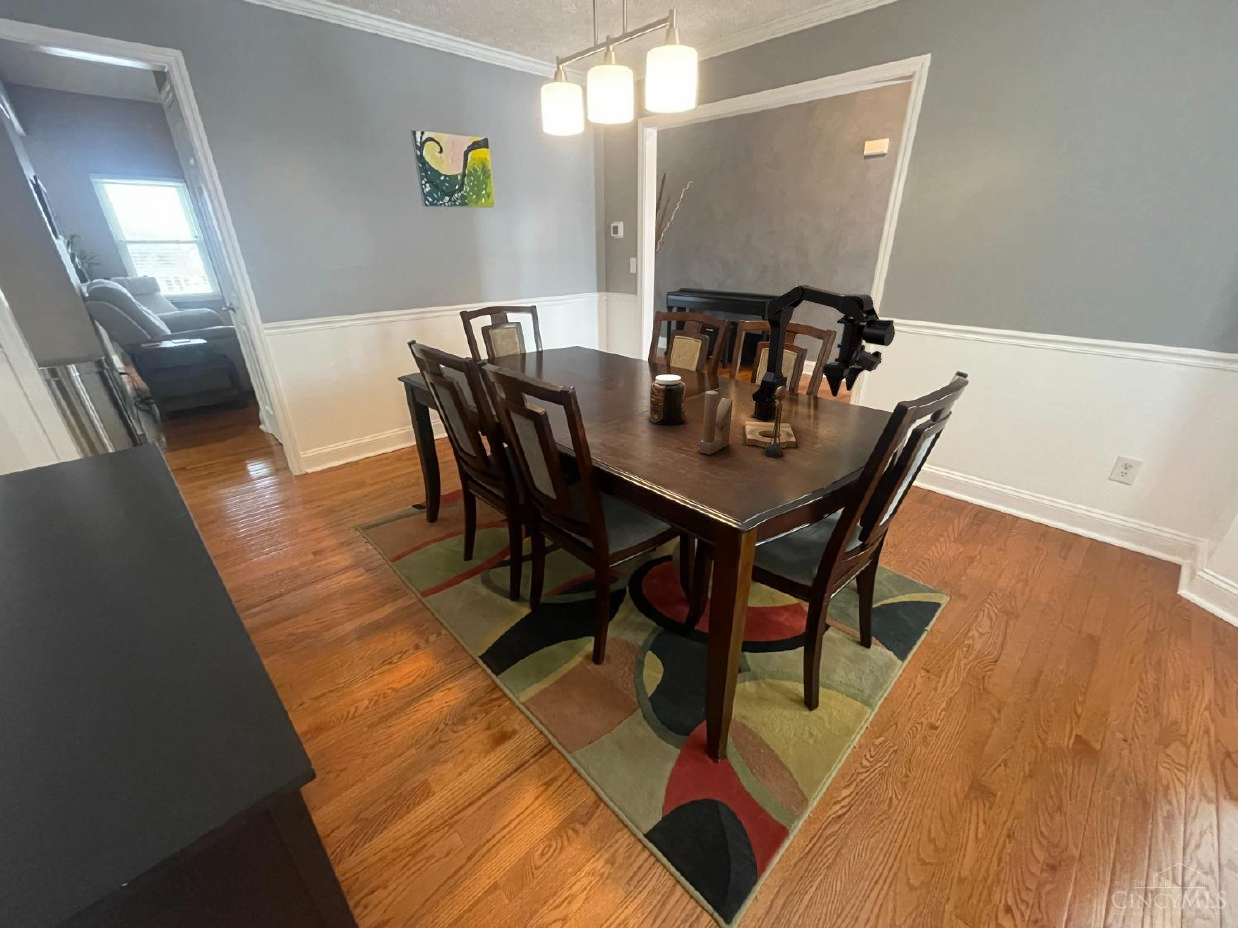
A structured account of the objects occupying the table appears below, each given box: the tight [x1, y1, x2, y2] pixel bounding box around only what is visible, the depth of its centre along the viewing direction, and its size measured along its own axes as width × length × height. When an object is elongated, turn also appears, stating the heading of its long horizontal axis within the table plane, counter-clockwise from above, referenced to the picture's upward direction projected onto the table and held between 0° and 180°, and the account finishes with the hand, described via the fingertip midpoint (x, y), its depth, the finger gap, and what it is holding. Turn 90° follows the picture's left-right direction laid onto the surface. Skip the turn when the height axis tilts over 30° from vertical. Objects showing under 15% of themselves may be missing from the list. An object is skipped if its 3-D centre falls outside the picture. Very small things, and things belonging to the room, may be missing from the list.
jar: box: [649, 374, 687, 426], centre depth 167 cm, size 12×12×15 cm
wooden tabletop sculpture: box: [764, 386, 788, 458], centre depth 137 cm, size 6×5×20 cm
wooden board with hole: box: [744, 421, 797, 449], centre depth 153 cm, size 18×14×2 cm
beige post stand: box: [699, 390, 734, 456], centre depth 142 cm, size 4×11×18 cm, turn 138°
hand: (841, 393), depth 147 cm, fingers open, 9 cm apart
